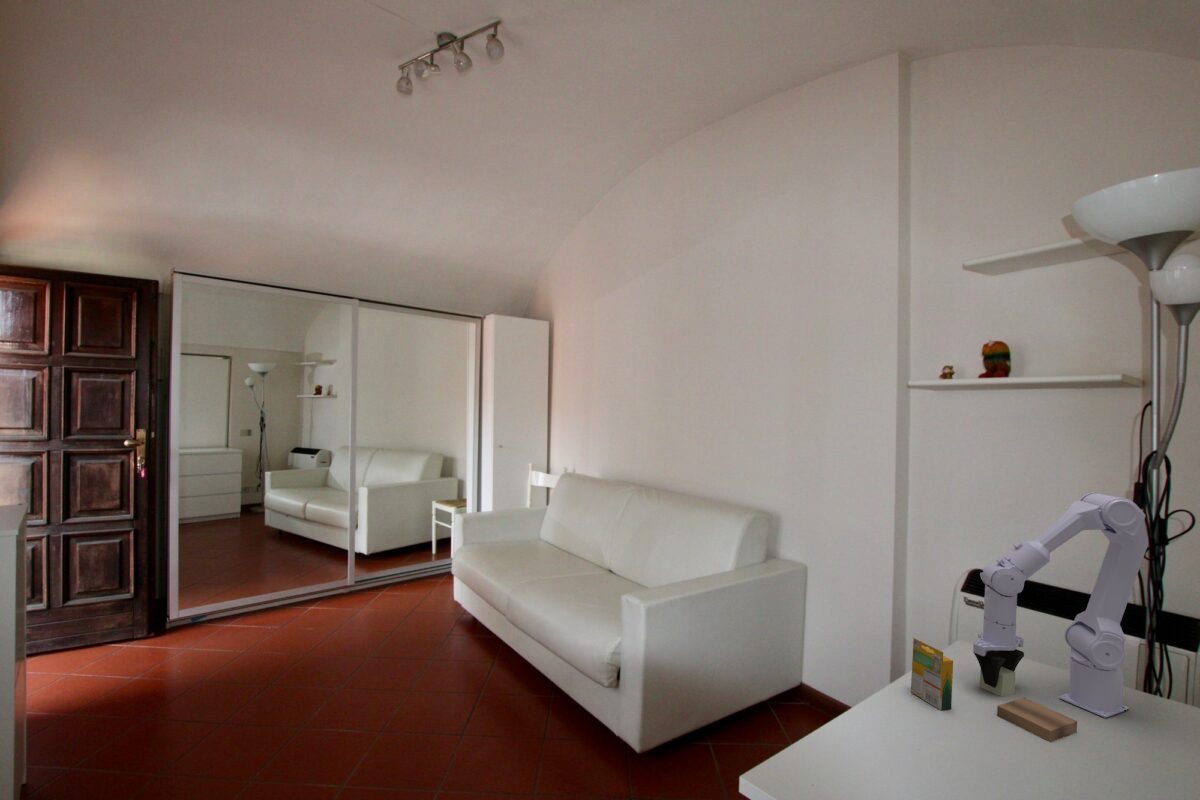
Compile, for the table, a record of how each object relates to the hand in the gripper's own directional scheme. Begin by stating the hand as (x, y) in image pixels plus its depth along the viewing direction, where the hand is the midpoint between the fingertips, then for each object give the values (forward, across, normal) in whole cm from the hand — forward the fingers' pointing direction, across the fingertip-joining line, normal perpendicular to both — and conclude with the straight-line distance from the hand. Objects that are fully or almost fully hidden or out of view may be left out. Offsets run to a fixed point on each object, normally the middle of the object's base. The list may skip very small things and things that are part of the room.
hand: (997, 683), depth 119 cm
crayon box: (+2, +19, -2) cm, 19 cm away
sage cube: (+1, 0, 0) cm, 1 cm away
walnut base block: (+2, +7, +11) cm, 13 cm away
